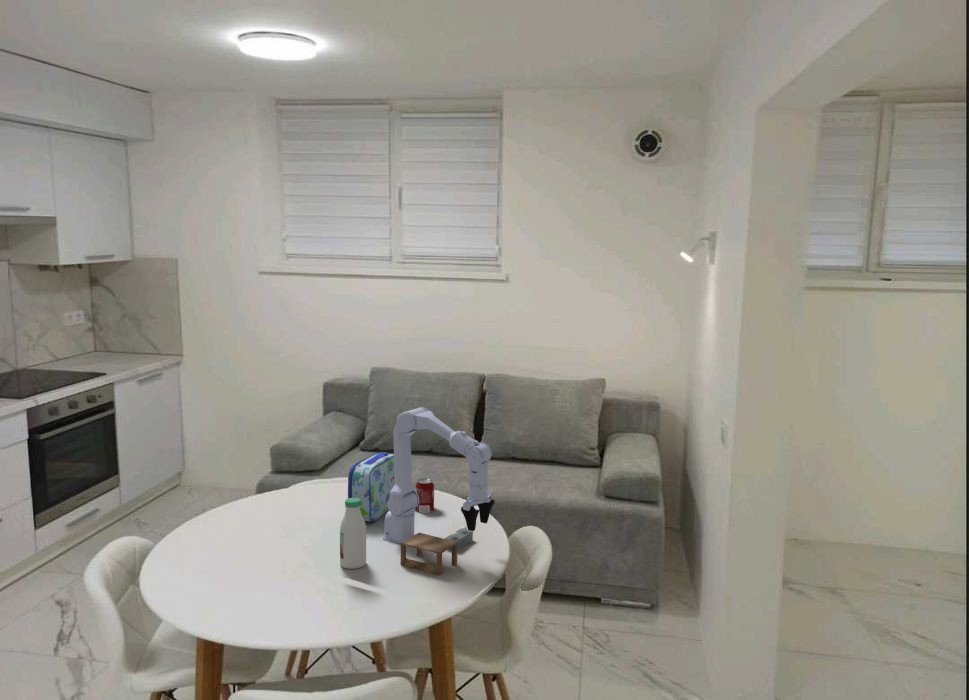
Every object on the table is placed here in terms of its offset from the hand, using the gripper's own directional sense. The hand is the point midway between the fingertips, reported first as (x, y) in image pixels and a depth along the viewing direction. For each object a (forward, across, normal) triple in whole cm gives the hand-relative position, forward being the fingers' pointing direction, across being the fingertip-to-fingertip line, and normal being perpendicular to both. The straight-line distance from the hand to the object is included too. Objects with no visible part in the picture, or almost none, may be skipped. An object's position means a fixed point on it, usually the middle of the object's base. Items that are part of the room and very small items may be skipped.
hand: (477, 526), depth 228 cm
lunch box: (+10, +14, +51) cm, 54 cm away
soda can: (+10, +24, +36) cm, 44 cm away
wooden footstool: (+10, -13, +9) cm, 19 cm away
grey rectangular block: (+10, +4, +10) cm, 15 cm away
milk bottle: (+10, -25, +28) cm, 39 cm away
